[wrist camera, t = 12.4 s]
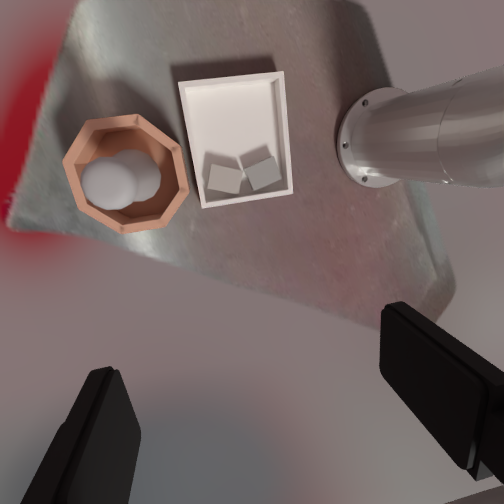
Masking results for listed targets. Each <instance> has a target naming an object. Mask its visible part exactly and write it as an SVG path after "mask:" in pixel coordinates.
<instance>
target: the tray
mask: <svg viewBox="0 0 504 504" xmlns="http://www.w3.org/2000/svg"><path fill="white" fill-rule="evenodd" d="M178 86H179V91H180V96H181V101H182V107H183V112H184V117H185V122H186V127H187V133H188V138H189V143H190V148H191V153H192V159H193V164H194V169H195V174H196V180H197V185H198V190H199V195H200V200H201V206H202V208H208V207H214V206H220V205H226V204H232V203H239V202H245V201H251V200H257V199H263V198H269V197H276V196H282V195H288V194H293V185H292V172H291V159H290V147H289V134H288V121H287V108H286V96H285V83H284V71H280V72H270V73H260V74H251V75H241V76H231V77H222V78H212V79H202V80H193V81H183V82H178ZM270 156H274V158H275V160H276V163H277V166H278V169H279V172H280V174H281V177H282V179H280V180H278V181H276V182H273V183H271V184H269V185H267V186H265V187H262V188H260V189H258V190H256V191H253V190H252V189H251V186H250V184H249V182H248V179H247V177H246V174H245V172H244V169H243V168H245V167H248V166H250V165H252V164H254V163H257V162H259V161H261V160H263V159H266V158H268V157H270ZM211 164H215V165H219V166H224V167H228V168H233V169H237V170H242V171H243V174H242V179H241V184H240V189H239V194H238V195H237V194H232V193H227V192H223V191H218V190H213V189H208V188H207V184H208V178H209V172H210V166H211Z"/></svg>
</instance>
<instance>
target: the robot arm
mask: <svg viewBox="0 0 504 504" xmlns="http://www.w3.org/2000/svg"><path fill="white" fill-rule="evenodd" d="M362 103H363V105H362ZM343 144H344V147H343ZM337 152H338V158H339V161H340V164H341V166H342V168H343V170H344V171H345V173H346V174H347V175H348V176H349V178H350V179H352V180H353V181H355V182H356V183H358V184H360V185H363V186H367V187H375V188H379V187H385V186H388V185H391V184H394V183H395V182H397V181H399V180H400V179H404V180H413V181H422V182H431V183H440V184H449V185H458V186H467V187H478V188H496V187H503V186H504V65H501V66H498V67H495V68H491V69H488V70H485V71H482V72H479V73H475V74H472V75H469V76H465V77H462V78H459V79H455V80H452V81H448V82H446V83H442V84H439V85H435V86H432V87H429V88H425V89H422V90H419V91H415V92H412V93H407V92H405V91H403V90H401V89H398V88H394V87H384V88H380V89H376V90H373V91H371V92H368V93H367V94H365V95H363V96H362V97H360V98H359V99H358V100H357V101H356V102H355V103H354V104H353V105H352V106H351V107H350V109H349V110H348V111H347V113H346V115H345V116H344V118H343V120H342V123H341V125H340V128H339V132H338V138H337ZM362 178H363V179H362ZM379 367H380V372H381V374H382V376H383V378H384V379H385V380H386V381H387V382H388V384H389V385H390V386H391V387H392V388H393V390H394V391H395V392H396V393H397V394H398V396H399V397H400V398H401V399H402V400H403V401H404V403H405V404H406V405H407V406H408V407H409V409H410V410H411V411H412V412H413V413H414V415H415V416H416V417H417V418H418V419H419V420H420V422H421V423H422V424H423V425H424V426H425V428H426V429H427V430H428V431H429V432H430V434H432V436H433V437H434V438H435V439H436V441H437V442H438V443H439V444H440V446H441V447H442V448H443V449H444V450H445V451H446V453H447V454H448V455H449V456H450V457H451V459H452V460H453V461H454V462H455V463H456V464H457V466H458V467H460V468H461V469H464V470H465V469H466V470H467V472H468V473H469V474H470V475H471V476H472V477H473V479H474V480H475V481H479V480H481V479H485V478H488V477H491V476H493V474H494V475H495V477H496V478H497V479H498V480H499V481H500V482H501V483H502V486H499V487H496V488H493V489H489V490H486V491H482V492H479V493H476V494H473V495H470V496H467V497H464V498H461V499H458V500H454V501H452V502H448V503H445V504H504V372H503V371H501V370H500V369H498V368H497V367H496V366H494V365H493V364H491V363H490V362H489V361H487V360H486V359H484V358H483V357H481V356H480V355H478V354H477V353H476V352H474V351H473V350H472V349H470V348H469V347H467V346H466V345H464V344H463V343H462V342H460V341H459V340H457V339H456V338H454V337H453V336H452V335H450V334H449V333H447V332H446V331H445V330H443V329H441V328H440V327H439V326H437V325H436V324H435V323H433V322H432V321H430V320H429V319H428V318H426V317H425V316H423V315H422V314H420V313H419V312H418V311H416V310H415V309H413V308H412V307H410V306H409V305H408V304H406V303H405V302H403V301H400V302H395V303H391V304H387V305H385V307H384V309H383V310H382V311H381V331H380V363H379ZM140 441H141V430H140V426H139V423H138V421H137V418H136V415H135V412H134V410H133V407H132V404H131V402H130V399H129V396H128V393H127V390H126V388H125V385H124V382H123V380H122V377H121V374H120V372H119V370H117V369H116V370H114V369H113V368H112V367H111V366H109V367H104V368H100V369H96V370H92V371H91V372H90V373H89V375H88V377H87V379H86V381H85V383H84V385H83V387H82V389H81V391H80V393H79V395H78V397H77V399H76V401H75V403H74V405H73V407H72V409H71V411H70V413H69V415H68V417H67V419H66V421H65V422H64V423H63V424H62V425H61V426H60V428H59V429H58V431H57V433H56V435H55V437H54V439H53V441H52V443H51V444H50V446H49V448H48V451H47V452H46V454H45V456H44V458H43V460H42V462H41V464H40V466H39V468H38V470H37V472H36V474H35V476H34V478H33V480H32V482H31V484H30V486H29V488H28V489H27V492H26V493H25V495H24V497H23V499H22V501H21V503H20V504H128V501H129V496H130V491H131V486H132V481H133V476H134V471H135V466H136V461H137V456H138V451H139V446H140Z"/></svg>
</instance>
